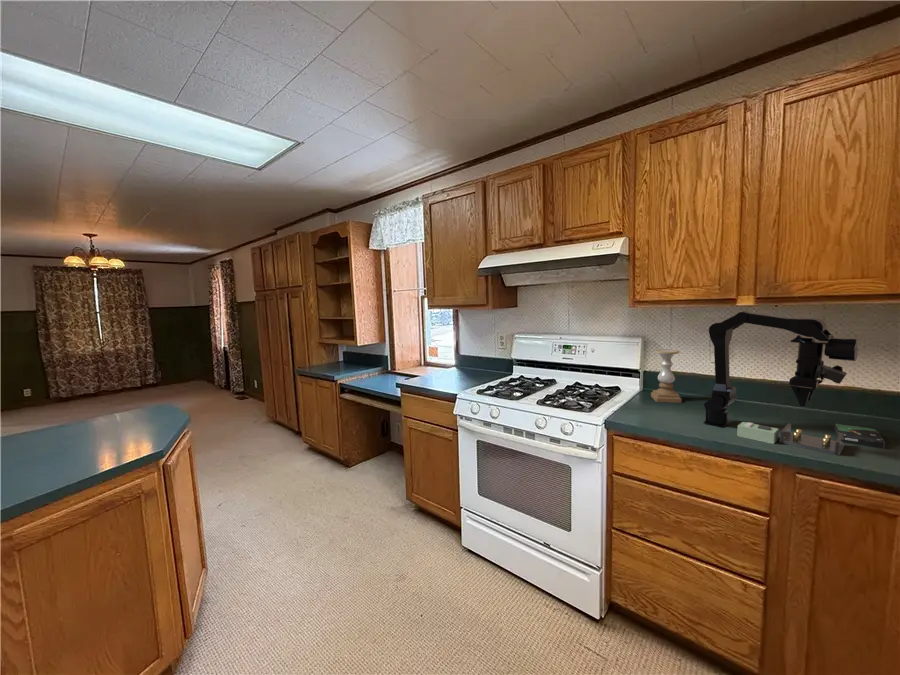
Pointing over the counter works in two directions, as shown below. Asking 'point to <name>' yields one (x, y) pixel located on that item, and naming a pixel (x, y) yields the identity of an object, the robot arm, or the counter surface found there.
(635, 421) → the counter surface
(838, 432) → the disk drive
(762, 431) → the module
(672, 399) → the candle holder
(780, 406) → the counter surface
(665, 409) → the counter surface
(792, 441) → the chassis
